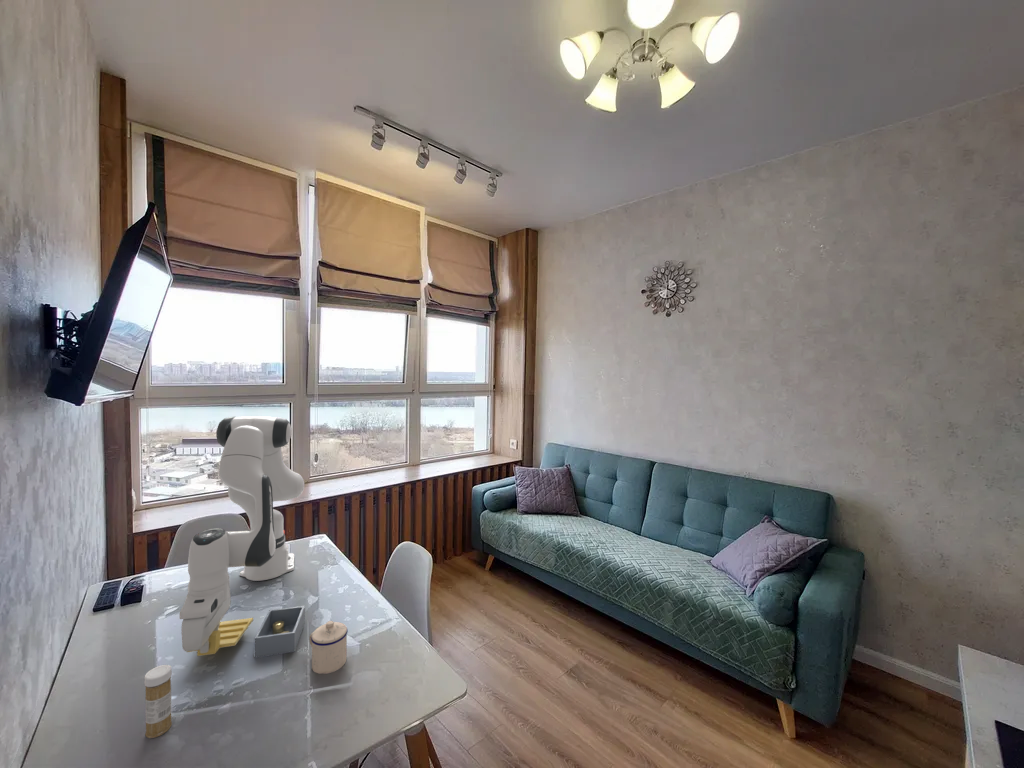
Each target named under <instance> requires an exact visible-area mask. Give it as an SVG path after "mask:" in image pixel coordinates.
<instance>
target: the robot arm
mask: <svg viewBox="0 0 1024 768" xmlns="http://www.w3.org/2000/svg"><path fill="white" fill-rule="evenodd" d="M292 431H293V429H292V425H291V423H290V421H289V420H288V419H287V418H284V417H280V416H279V417H278V416H277V417H275V416H274V417H272V416H262V415H261V416H260V415H255V416H230V417H229V416H228V417H225V418H223V419H222V420H221V421H220V422H219V423H218V425H217V428H216V432H215V435H216V442H217V443H218V444H219V445H220V446H221V447H223V449H222V454H221V457H220V461H219V465H218V476H219V479H220V481H221V482H222V483H223V484H224V485H225V486H226V487H228V489H227V494H228V498H229V500H230V501H232V502H233V504H235V505H237V506H239V507H240V508H241V509H243V511H244V512H245V513H246V515H247V517H248V519H249V525H250V529H249V530H237V531H236V530H235V531H234V530H230V531H227V530H226V529H224V528H220V527H214V528H208V529H205V530H202V531H200V532H198V533H196V534H195V535H194V536H193V537H192V539H191V542H190V543H189V544H190V545H189V548H188V549H189V550H188V558H187V559H188V560H187V572H188V576H189V581H188V584H187V594H186V597H185V601H184V603H183V605H182V607H181V609H180V611H179V619H180V620H182V622H181V627H180V628H181V633H180V634H181V647H182V650H183V651H184V652H186V653H189V652H188V651H193V652H197V651H196V650H200V653H207V652H208V650H209V649H210V642H209V641H208V639H209V636H210V635H211V634H212V632H213V631H217V630H218V629H219V625H220V622H222V620H223V618H224V616H225V615H226V613H228V611H229V609H230V608H231V603H232V600H231V599H232V598H231V587H230V574H229V570H228V569H229V568H237V567H238V568H239V567H243V568H244V569H243V570H241V571H240V572H239V576H241V577H244V578H246V579H247V580H248V581H252V582H253V581H254V582H255V581H256V582H257V581H258V582H259V581H266V580H271V579H275V578H277V577H279V576H282V575H284V574H286V573H288V572H291V571H294V570H295V553H293V552H290V551H289V544H288V543H287V542H286V535H285V534H286V530H285V529H284V515H283V514H282V512H281V511H279V510H277V509H274V505H273V504H274V502H275V503H277V502H285V501H290V500H293V499H297V498H299V497H300V496H301V495H302V494H303V492H304V490H305V480H304V478H303V476H302V475H301V474H300V473H298V472H296V471H294V470H292V469H290V468H289V467H288V466H287V465H286V464H285V461H284V458H283V455H282V454H283V453H282V447H285V446H286V445H288V443H289V442H290V439H291V437H292Z"/></svg>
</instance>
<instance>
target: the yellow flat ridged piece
mask: <svg viewBox="0 0 1024 768" xmlns="http://www.w3.org/2000/svg"><path fill="white" fill-rule="evenodd" d="M253 621H254V617H249V618H241V619H231V620H224V621H220V625H219V629H218V630H217V631H213V632H212V634H211V635H210V636H209V639H208V641H209V642H210V649H209V650H208V652H207V653H200V650H196V651H195V652H197V653H196V656H197V657H201V656H207V655H215V654H216V653H217V652H218V651H219V649H221V648H227V647H234V646H236V645H237V644H238V642H239V641H240V640H241V638H242V637H243V635H244V634H245V633H246V632H247V630H248V629H249V628H250V626H251V624H252V623H253ZM192 652H193V653H194V651H188V652H187V653H192Z"/></svg>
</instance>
